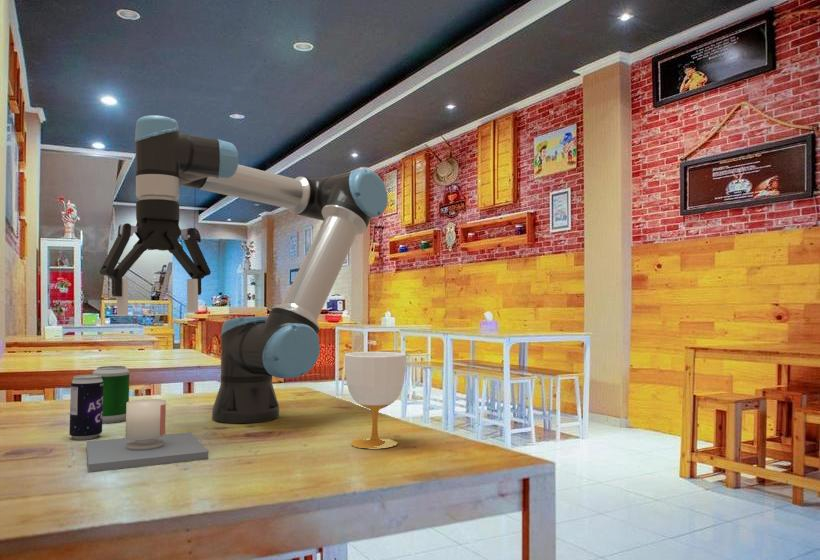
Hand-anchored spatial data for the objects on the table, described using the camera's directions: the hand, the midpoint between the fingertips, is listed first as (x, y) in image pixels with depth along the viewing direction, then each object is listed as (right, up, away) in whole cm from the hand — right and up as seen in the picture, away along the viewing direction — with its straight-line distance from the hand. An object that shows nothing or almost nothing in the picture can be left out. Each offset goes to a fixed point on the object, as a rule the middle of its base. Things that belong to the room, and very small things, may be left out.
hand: (159, 314), depth 113 cm
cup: (+40, -25, +2) cm, 47 cm away
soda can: (-21, -26, +23) cm, 40 cm away
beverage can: (-17, -25, +6) cm, 30 cm away
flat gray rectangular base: (0, -24, -7) cm, 25 cm away
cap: (0, -21, -7) cm, 22 cm away
